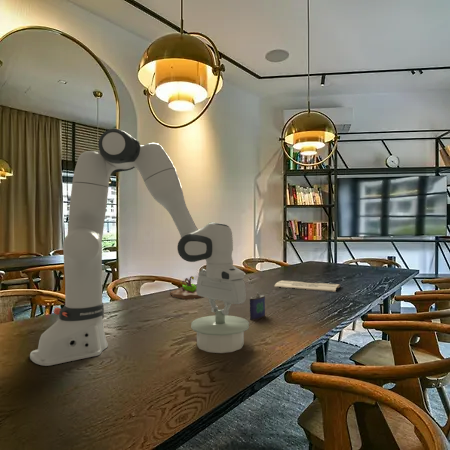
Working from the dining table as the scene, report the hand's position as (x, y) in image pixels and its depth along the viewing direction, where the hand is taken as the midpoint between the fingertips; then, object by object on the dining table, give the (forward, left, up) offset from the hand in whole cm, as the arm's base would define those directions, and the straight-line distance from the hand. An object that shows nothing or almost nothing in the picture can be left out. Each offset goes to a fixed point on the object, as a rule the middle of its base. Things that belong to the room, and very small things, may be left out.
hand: (219, 313), depth 117 cm
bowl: (0, 0, -10) cm, 10 cm away
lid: (0, 0, -4) cm, 4 cm away
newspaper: (+110, +35, -11) cm, 116 cm away
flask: (+34, +12, -11) cm, 38 cm away
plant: (+45, +70, -11) cm, 84 cm away
